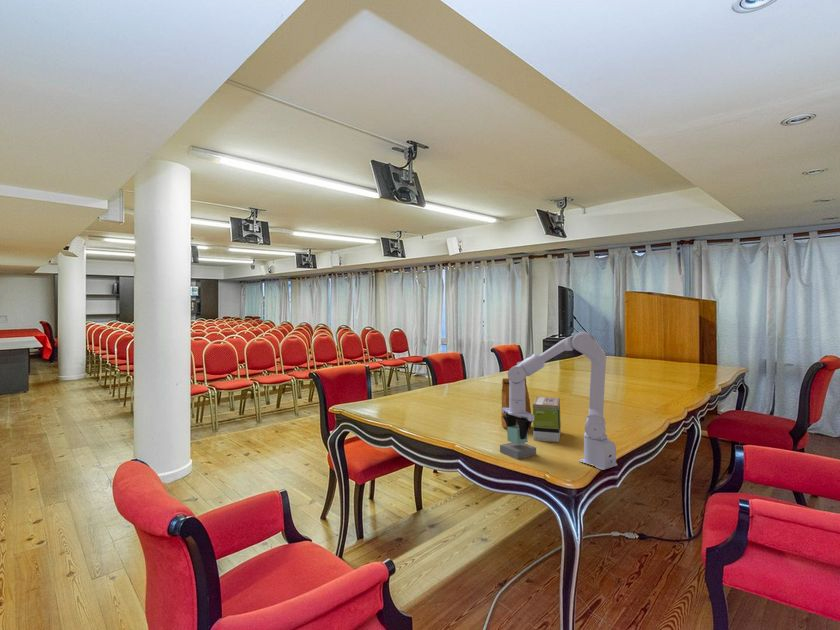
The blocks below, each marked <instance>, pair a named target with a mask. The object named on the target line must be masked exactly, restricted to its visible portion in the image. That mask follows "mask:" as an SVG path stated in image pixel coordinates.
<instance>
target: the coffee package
mask: <svg viewBox="0 0 840 630" xmlns="http://www.w3.org/2000/svg"><path fill="white" fill-rule="evenodd" d="M524 380H525V402H526V412H528V413H530V414H532V409H531V401H530V400H531V399H530V395H529V391H528V385H527V377H526V378H525V379H524ZM501 385H502V387H501V397H500V398H501V399H500V400H501V409H502V408H504V407H507V408H509V378H508V377H507V378H505V377H504V378H502V381H501ZM504 415H506V413H502V411H501V419H500V420H501V426H502V427H503V428H505V429H507V424H506V422H505V420H504V418H503V416H504ZM518 419H522V418H520V417H517V420H518ZM517 420H516V425H518V422H517ZM531 427H532V424H531V425H530V427H529V429H528V430H530V429H531Z"/></svg>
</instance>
